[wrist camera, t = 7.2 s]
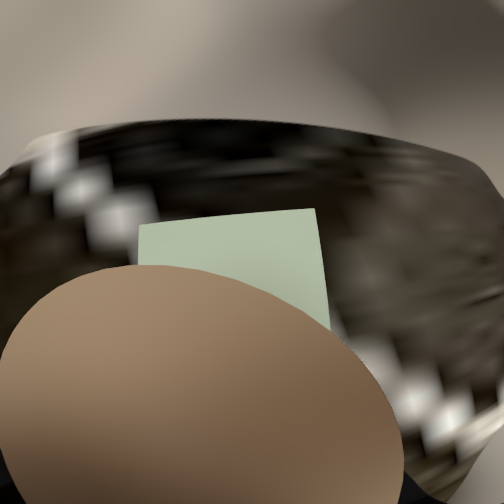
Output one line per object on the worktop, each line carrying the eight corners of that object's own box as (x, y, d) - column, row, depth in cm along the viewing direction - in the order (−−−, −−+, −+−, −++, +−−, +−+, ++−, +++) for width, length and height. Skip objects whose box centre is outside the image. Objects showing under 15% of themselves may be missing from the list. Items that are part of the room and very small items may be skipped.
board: (333, 483, 15) (336, 490, 14) (169, 490, 15) (165, 498, 14) (311, 215, 20) (314, 208, 19) (145, 230, 20) (139, 225, 19)
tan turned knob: (318, 402, 15) (439, 531, 2) (206, 450, 14) (124, 606, 2) (261, 293, 16) (270, 178, 4) (151, 345, 16) (-39, 350, 3)
